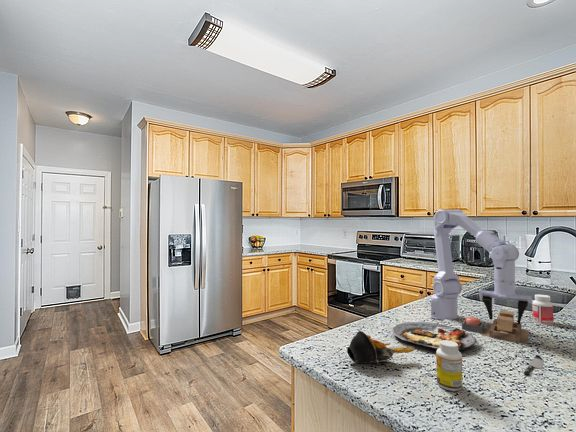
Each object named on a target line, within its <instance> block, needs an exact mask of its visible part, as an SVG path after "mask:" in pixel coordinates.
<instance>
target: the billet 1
mask: <svg viewBox="0 0 576 432" xmlns="http://www.w3.org/2000/svg"><path fill="white" fill-rule="evenodd" d="M498 316H504V317H510V318H513V327H514V322H515V312H514V311H508V310H504V309H503V310H499V314H498Z"/></svg>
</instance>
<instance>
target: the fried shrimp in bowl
mask: <svg viewBox="0 0 576 432" xmlns="http://www.w3.org/2000/svg"><path fill="white" fill-rule="evenodd" d="M389 345H391V343H387V342H386V343H384V342H381V341H380V340H377V339H373V338H372V336H371V335H370V334H369V335H368V334H366V333H365V332H364V331H362V330H359V331H358V332H357V333H356V334H355V335H354V337H353V338H352V339H351V341H350V344H349V346H348V347H347V349H346V353H347V355H348V357H349V358H350V359H351V361H352V362H353V363H357V362H358V363H361V364H368V363H375V364H378V365H384V364H387V363H389V361H388V360H389V359H391V358H392V357H393V356H394V354H395V353H396V354H403V353H405V354H406V353H407V354H409V353H413V352H414V351H415V350H416V349H415V347H414V346H413V345H412V346H411V345H409V346H403V347H402V346H401V347H400V346H399V347H387V346H389Z"/></svg>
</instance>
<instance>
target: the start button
mask: <svg viewBox="0 0 576 432" xmlns="http://www.w3.org/2000/svg"><path fill="white" fill-rule="evenodd" d="M465 319H466V324H470V325H475V326H480V322H481V319H480V318H478V317H475V316H474V317H473V316H466V317H465Z"/></svg>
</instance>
